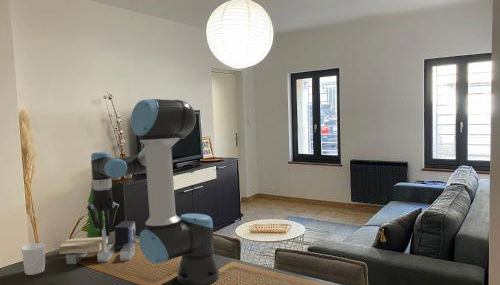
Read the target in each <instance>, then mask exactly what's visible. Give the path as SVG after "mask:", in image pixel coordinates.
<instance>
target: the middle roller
mask: <svg viewBox="0 0 500 285" xmlns="http://www.w3.org/2000/svg"><path fill="white" fill-rule="evenodd" d="M96 253H97V254H96V255H97V263H108V262H109V261H110V259H111V258H112V257H113V256H114V255H115V243H114V244H113V243H112V244H111V243H110V244H109V243H107V244H106V245H105V246H104V248H103V249H102V250H101V251H100V252H96ZM112 255H113V256H112Z"/></svg>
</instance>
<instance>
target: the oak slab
mask: <svg viewBox="0 0 500 285" xmlns="http://www.w3.org/2000/svg"><path fill="white" fill-rule="evenodd" d="M104 246H105V245H102V237H96V238H88V237H80V238H79V237H78V238H76V237H75V238H67V239H66V240H65V241H64V242H63V243H61V245H59V246H58V252H59V255H63V254H65V255H67V254H68V253H85V252H87V253H98V252H100V251H101V250H102V249H103V248H104Z"/></svg>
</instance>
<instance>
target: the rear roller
mask: <svg viewBox="0 0 500 285" xmlns="http://www.w3.org/2000/svg"><path fill="white" fill-rule="evenodd" d="M135 253H136V242H135V243H127V244H125V245H124V246H123V248H122V249H121V250H120V251H119V260H120V262H124V261H125V262H126V261H131V260H132V258H133V257H134V255H135Z"/></svg>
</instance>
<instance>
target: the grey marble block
mask: <svg viewBox="0 0 500 285" xmlns="http://www.w3.org/2000/svg"><path fill="white" fill-rule="evenodd" d="M86 255H87V256H88V252H85V253H67V254H65V260H66V261H65V262H66V265H77V264H78V263H79V262H80V261H82V260H83V259H84V258H85V257H87V256H86ZM81 259H82V260H81ZM77 262H78V263H77Z"/></svg>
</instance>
